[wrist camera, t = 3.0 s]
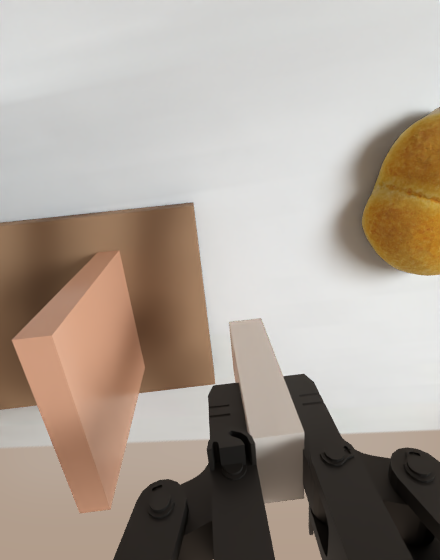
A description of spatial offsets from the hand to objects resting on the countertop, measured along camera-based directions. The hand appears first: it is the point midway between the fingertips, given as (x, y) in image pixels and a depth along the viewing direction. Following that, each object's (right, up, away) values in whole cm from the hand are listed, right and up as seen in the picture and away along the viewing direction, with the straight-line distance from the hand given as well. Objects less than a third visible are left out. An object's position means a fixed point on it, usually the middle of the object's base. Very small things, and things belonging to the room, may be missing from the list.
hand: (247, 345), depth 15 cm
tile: (-7, +1, +4) cm, 8 cm away
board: (-11, +1, +5) cm, 12 cm away
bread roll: (+11, +8, +4) cm, 15 cm away
